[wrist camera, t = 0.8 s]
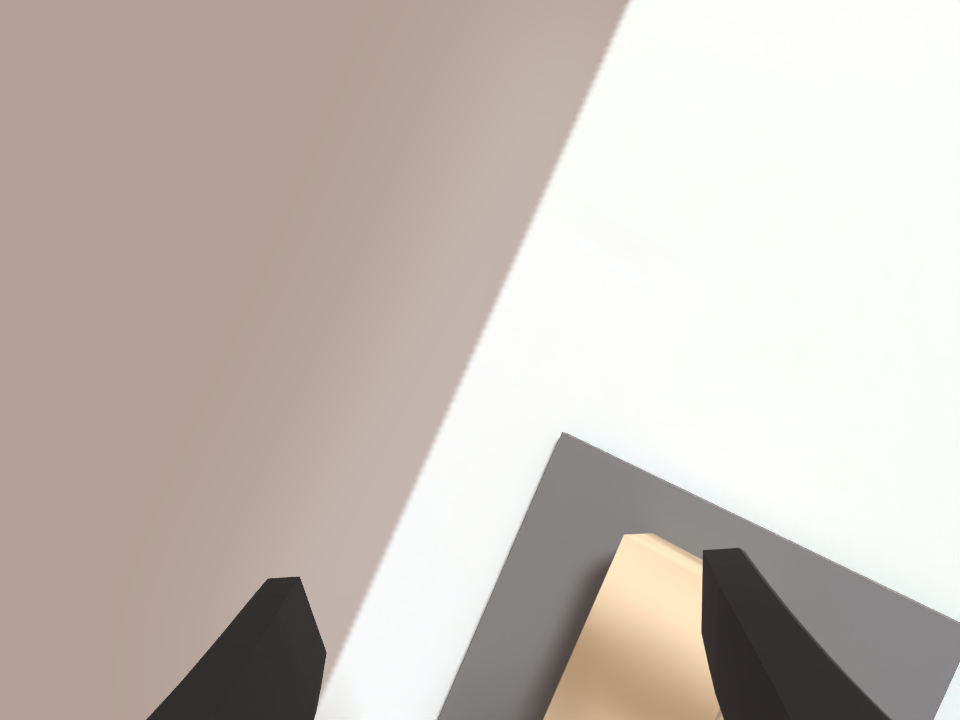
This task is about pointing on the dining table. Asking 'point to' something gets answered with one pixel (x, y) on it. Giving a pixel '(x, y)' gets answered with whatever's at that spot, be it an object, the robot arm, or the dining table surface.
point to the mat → (696, 527)
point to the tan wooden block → (641, 642)
